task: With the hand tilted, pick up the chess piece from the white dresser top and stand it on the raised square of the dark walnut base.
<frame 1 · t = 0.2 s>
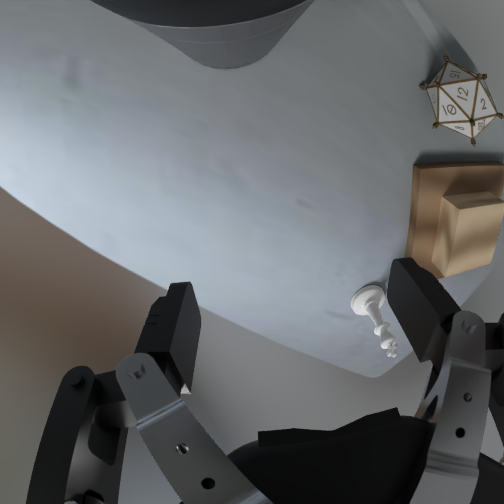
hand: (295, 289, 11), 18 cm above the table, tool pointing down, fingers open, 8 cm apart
chess piece: (366, 298, 36), on the table
game die: (438, 95, 22), on the table
walnut base: (455, 220, 30), on the table
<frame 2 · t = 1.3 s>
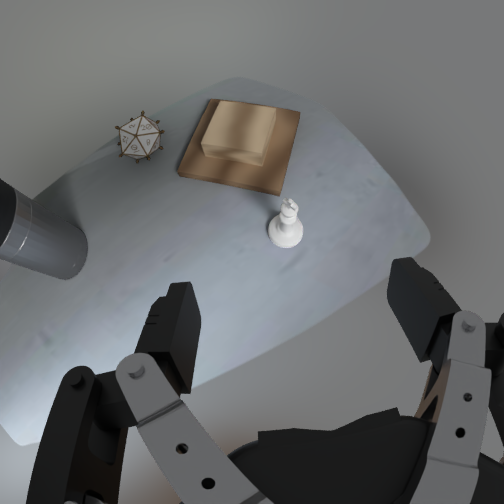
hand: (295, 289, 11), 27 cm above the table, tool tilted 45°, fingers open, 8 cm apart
chess piece: (285, 231, 40), on the table
game die: (148, 151, 45), on the table
walnut base: (242, 143, 44), on the table
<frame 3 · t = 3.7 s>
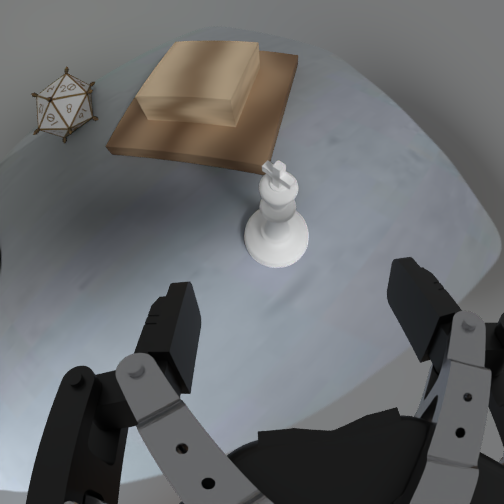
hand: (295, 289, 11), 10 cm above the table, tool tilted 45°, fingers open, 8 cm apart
chess piece: (276, 237, 22), on the table
game die: (80, 125, 28), on the table
walnut base: (208, 100, 26), on the table
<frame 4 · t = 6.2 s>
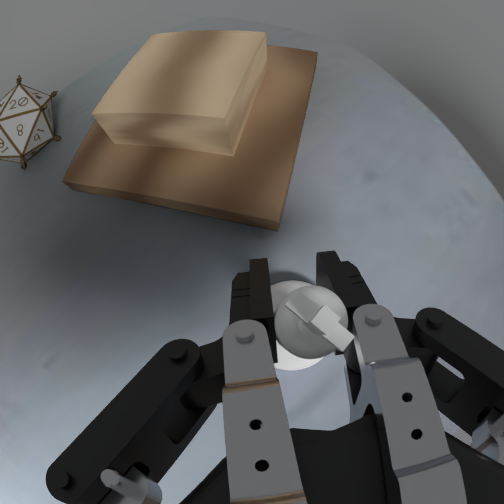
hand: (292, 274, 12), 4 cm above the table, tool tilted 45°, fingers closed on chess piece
chess piece: (291, 325, 15), on the table, touching gripper
game die: (42, 147, 21), on the table
walnut base: (196, 112, 19), on the table
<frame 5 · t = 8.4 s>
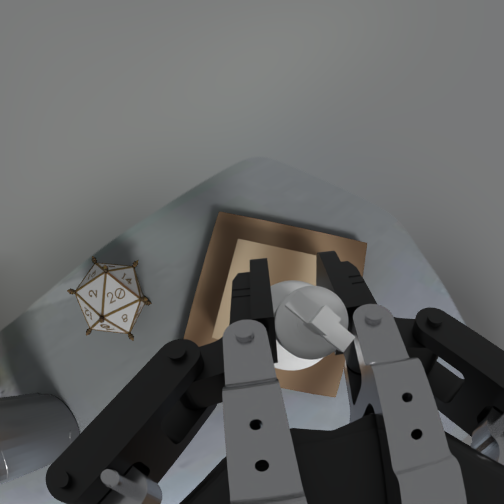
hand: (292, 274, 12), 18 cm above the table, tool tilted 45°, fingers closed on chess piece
chess piece: (291, 325, 15), point 13 cm above the table, touching gripper
game die: (129, 302, 30), on the table
walnut base: (275, 304, 29), on the table
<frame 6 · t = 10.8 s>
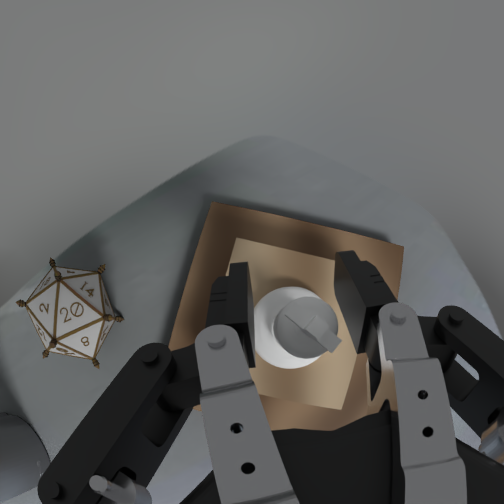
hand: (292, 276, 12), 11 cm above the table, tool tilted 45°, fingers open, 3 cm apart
chess piece: (290, 327, 17), point 5 cm above the table, touching walnut base
game die: (98, 316, 23), on the table
walnut base: (285, 326, 21), on the table
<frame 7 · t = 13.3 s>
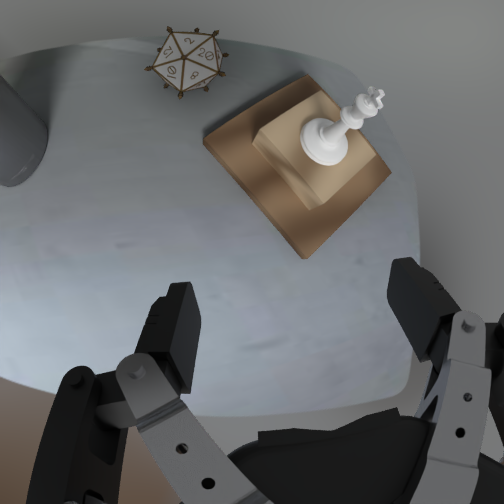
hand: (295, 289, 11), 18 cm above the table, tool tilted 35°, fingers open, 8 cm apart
chess piece: (322, 143, 26), point 5 cm above the table, touching walnut base
game die: (188, 81, 28), on the table
walnut base: (304, 157, 30), on the table
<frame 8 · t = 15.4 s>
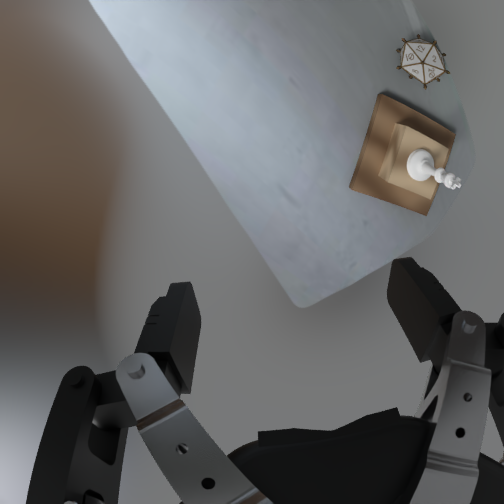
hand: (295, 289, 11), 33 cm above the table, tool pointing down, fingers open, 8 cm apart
chess piece: (419, 164, 36), point 5 cm above the table, touching walnut base
game die: (409, 62, 32), on the table
walnut base: (404, 157, 40), on the table
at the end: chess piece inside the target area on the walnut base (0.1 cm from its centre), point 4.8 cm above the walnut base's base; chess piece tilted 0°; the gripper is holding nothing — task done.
